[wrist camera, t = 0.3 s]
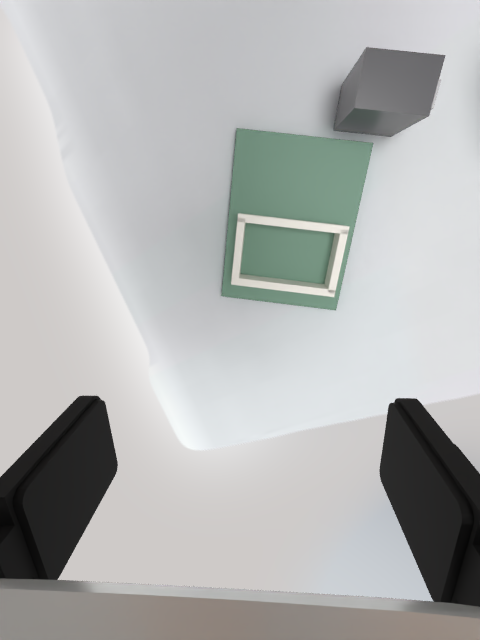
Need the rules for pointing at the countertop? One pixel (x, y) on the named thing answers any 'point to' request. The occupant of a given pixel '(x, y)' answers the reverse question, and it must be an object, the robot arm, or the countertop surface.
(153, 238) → the countertop surface
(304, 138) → the header board
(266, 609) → the robot arm
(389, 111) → the dark gray block
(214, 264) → the countertop surface
